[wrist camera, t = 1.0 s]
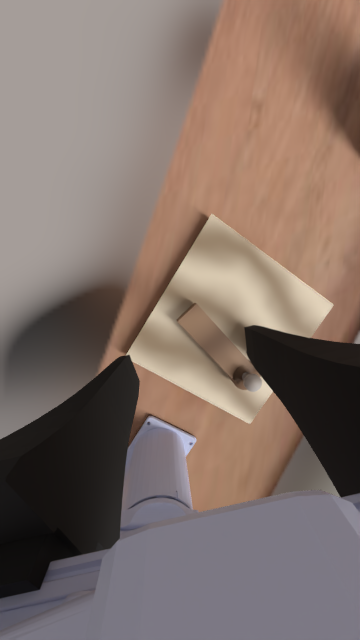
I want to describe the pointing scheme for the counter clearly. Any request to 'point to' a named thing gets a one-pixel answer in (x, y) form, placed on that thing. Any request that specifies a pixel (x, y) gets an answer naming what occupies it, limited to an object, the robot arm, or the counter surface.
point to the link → (220, 348)
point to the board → (224, 315)
